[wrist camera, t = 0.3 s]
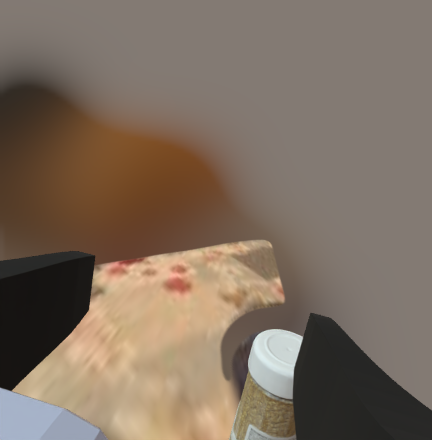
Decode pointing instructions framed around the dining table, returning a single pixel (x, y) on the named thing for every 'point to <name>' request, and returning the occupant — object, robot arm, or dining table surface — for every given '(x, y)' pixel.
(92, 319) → the dining table surface
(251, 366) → the spice jar
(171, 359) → the dining table surface
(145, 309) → the dining table surface
